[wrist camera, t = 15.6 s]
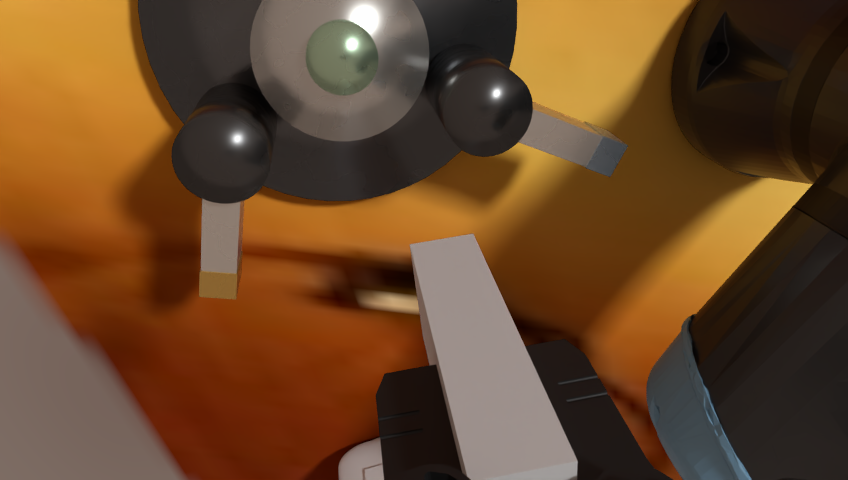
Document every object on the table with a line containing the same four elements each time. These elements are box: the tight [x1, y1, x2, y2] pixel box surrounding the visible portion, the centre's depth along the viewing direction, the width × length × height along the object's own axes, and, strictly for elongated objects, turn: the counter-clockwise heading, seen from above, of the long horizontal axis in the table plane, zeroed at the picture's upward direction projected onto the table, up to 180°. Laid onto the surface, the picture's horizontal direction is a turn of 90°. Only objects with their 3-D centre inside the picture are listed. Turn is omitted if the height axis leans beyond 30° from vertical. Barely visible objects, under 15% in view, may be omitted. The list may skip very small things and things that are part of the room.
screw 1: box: [172, 83, 277, 299], centre depth 31 cm, size 10×4×6 cm, turn 169°
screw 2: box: [425, 44, 628, 177], centre depth 32 cm, size 10×4×6 cm, turn 67°
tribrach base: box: [138, 0, 517, 201], centre depth 29 cm, size 20×20×8 cm
